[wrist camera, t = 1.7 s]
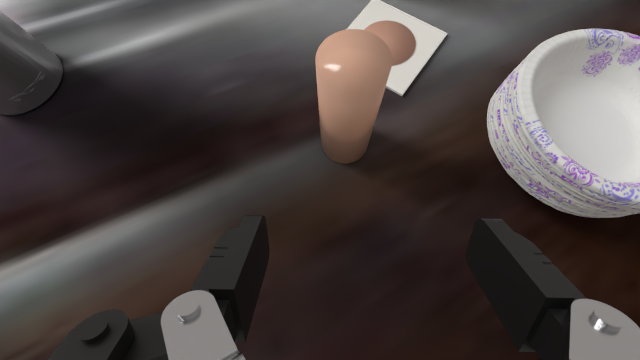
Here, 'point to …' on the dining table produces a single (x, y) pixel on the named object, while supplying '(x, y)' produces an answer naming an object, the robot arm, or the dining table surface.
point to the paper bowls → (574, 123)
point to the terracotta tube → (350, 91)
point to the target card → (400, 41)
